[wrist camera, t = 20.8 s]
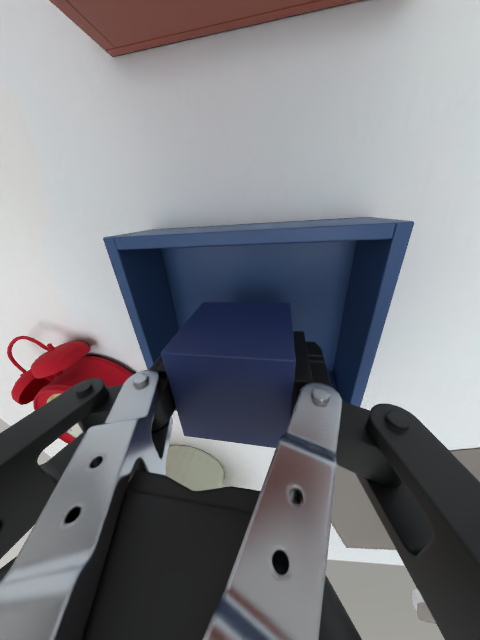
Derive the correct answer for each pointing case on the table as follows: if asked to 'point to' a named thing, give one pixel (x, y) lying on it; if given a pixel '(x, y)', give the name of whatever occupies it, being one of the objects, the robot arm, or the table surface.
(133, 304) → the blue bin
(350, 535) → the architectural model
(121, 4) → the terracotta bin
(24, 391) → the alarm clock
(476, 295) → the table surface
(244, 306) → the navy block
